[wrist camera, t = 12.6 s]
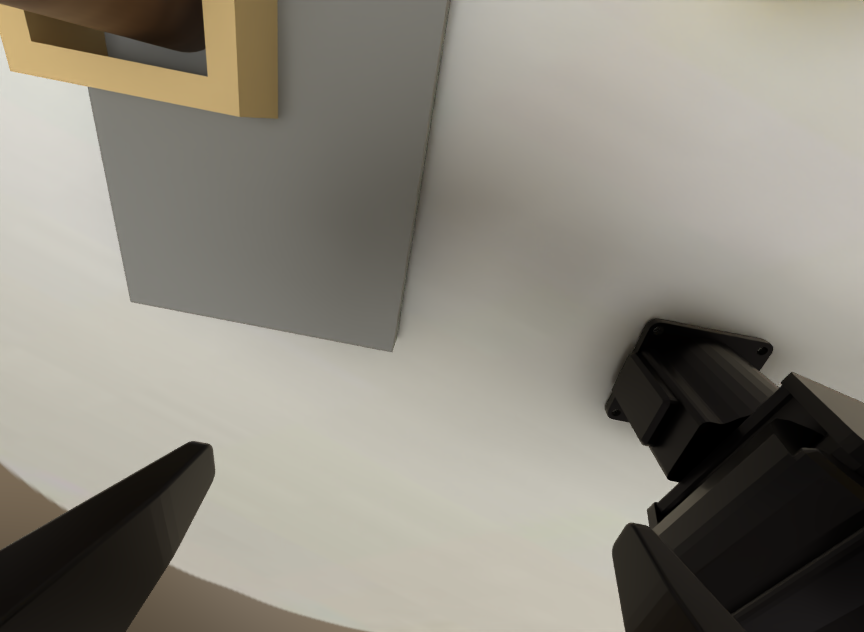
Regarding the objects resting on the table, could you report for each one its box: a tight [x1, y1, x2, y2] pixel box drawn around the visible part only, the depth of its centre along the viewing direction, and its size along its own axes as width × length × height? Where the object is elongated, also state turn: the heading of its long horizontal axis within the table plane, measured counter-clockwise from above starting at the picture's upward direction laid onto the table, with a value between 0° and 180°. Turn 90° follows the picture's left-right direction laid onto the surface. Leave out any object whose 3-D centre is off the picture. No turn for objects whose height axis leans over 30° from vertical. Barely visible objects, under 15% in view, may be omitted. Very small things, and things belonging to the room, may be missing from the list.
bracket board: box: [0, 0, 450, 352], centre depth 15 cm, size 14×20×4 cm
